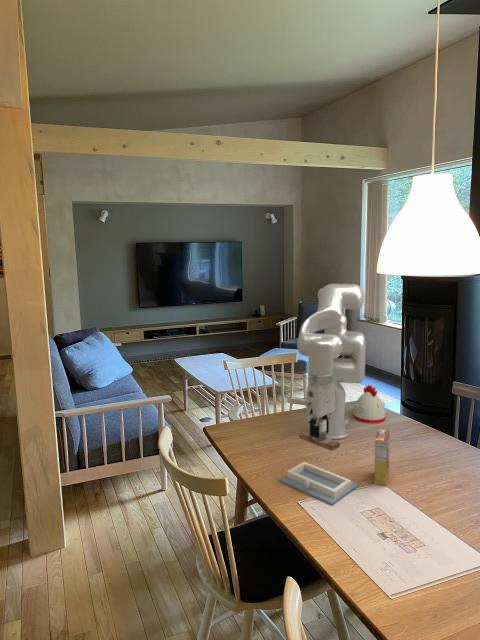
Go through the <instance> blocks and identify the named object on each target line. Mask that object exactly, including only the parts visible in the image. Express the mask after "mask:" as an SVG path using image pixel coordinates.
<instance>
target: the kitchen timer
mask: <svg viewBox="0 0 480 640" xmlns="http://www.w3.org/2000/svg"><path fill="white" fill-rule="evenodd" d="M362 389H363V392H364V393H363V394H361V395H360V396H359V397H358V399H357V400H356V402H355V403H354V407H353V413H352V417H353V419H354V420H355V421H358V422H360V423H363V424H371V425H372V424H381V423H384V422H385V421H386V410H385V403H384V401H382V399H381V398H380V397H379V395H377V394H378V390H376V386H375V387H373V385H370V384H368V385H366V386H365V387H363V388H362Z"/></svg>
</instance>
